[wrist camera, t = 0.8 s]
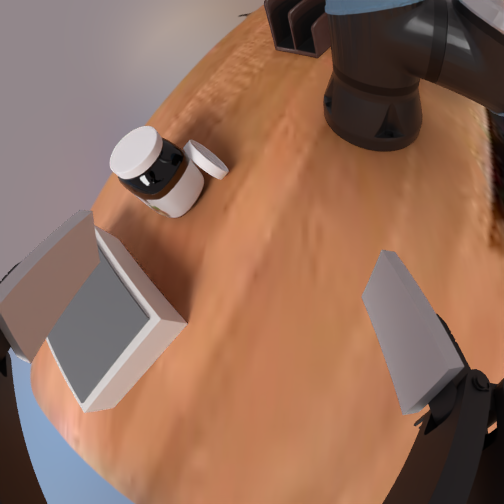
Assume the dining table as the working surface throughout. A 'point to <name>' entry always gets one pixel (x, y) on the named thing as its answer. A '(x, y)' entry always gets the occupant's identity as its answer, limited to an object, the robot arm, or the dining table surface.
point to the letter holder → (299, 26)
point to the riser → (112, 328)
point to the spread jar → (163, 170)
